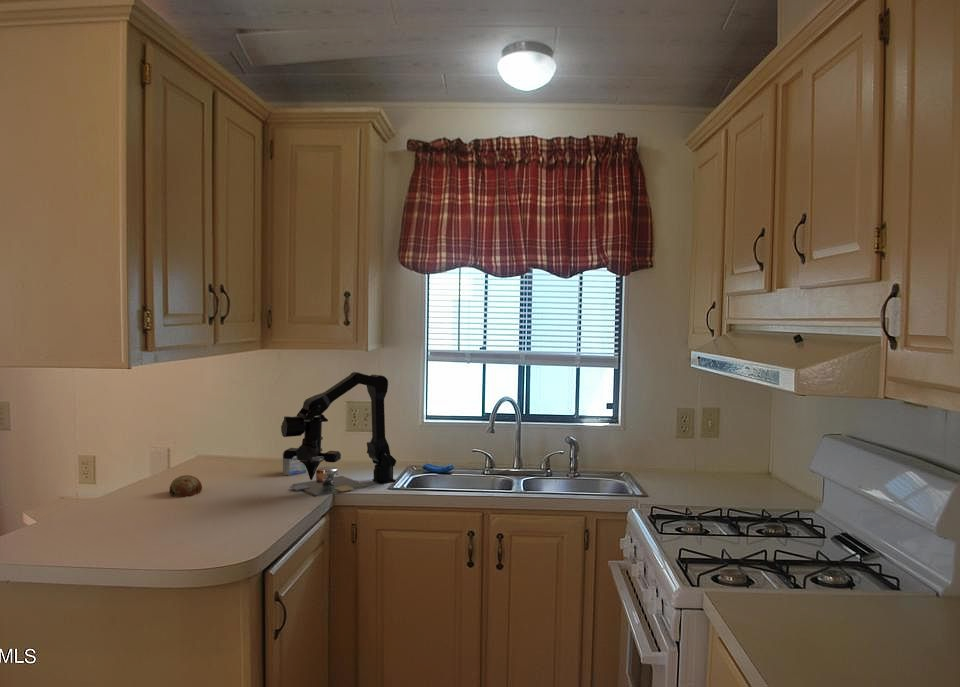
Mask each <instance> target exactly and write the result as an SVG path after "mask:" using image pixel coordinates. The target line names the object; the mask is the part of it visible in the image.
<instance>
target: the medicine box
mask: <svg viewBox="0 0 960 687" xmlns="http://www.w3.org/2000/svg"><path fill="white" fill-rule="evenodd" d="M305 473H307V469H306V466H305V465H304V464H303V463H302V462H300V460H297V456H294V457H293V458H292V459H284V458H283V457H282V474H283V475H284V476H289V477H292V476H296V475H297V476H298V475H299V474H300V475H301V474H305Z"/></svg>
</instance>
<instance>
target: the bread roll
mask: <svg viewBox="0 0 960 687" xmlns="http://www.w3.org/2000/svg"><path fill="white" fill-rule="evenodd" d="M202 489H203V485H202V482H201V481H200V480H199V479H198V477H195V476H193V475H188V474H187V475H186V474H185V475H180V476H178V477H175V479H173V480H172V482H171V483H170V485H169V489H168V490H169V496H170V497H175V496H177V497H179V498H187V497H186V496H188V497H193V496H195V494H196V495H198V493H199V494H200V493H201V492H202ZM177 497H176V498H177Z"/></svg>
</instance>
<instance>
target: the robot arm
mask: <svg viewBox="0 0 960 687" xmlns="http://www.w3.org/2000/svg"><path fill="white" fill-rule="evenodd" d="M357 385H362V386H366V390H367V392H368V395H369V398H370V401H371V402H370V406H371V408H370V409H371V435H372V436H371V440H370V441H369V442H366V447H367V449H366V454H368V457H369V458H370V459H371V460H372V463H373V464H374V469H373V478H372V480H371V481H372V482H375V483H377V484H381V485H383V484H387V483H392V482H393V483H394V482H396V479H394V467H395V466H396V464H397V459H396V458H394V457H393V455H391V450H390V445H389V443H388V441H387V437H386V426H385V425H386V423H385V422H386V419H385V417H386V415H385V398H386V395H387V393H388V388H389V380H388V378H387V377H386V376H385V375H381V374H370V375H369V374H364V373H362V372H358V371H353V372H351V373H350V374H349V375H348V376H346V377H345V378H343V379H341V380H340V381H338V382H337V383H336V384H334V385H333V386H331V387H330V388H328V389H327V390H325V391H323V392H322V393H318V394H316V395H312V396H310V397H308V398H306V399H305V400H304V401H303V405H302V407H301V408H300V410H299V411H298V413H297V414H296V416H288V415H287V416H283V421H282V423H281V426H280V430H281V431H280V432H281V435H282V437H283V438H287V437H289V438H290V437H301V436H302V435H303V434H304V436H303V438H302V440H301V445H299V446H298V447H290V448H287V449H285V450H284V451H283V452H282V459H283V458H284V459H292V458H293V457H294V456H297V460H300V462H302V463H303V464H304V465H305V466H306V472H307V474H308V476H309V481H313V478H314V476H315V474H316V470H318V468H319V466H320V464H321V462H326V463H336V462H339V461H340V460H341V457H342V454H341V452H340V451H339V450H338V451H337V450H329V451H327V452H323V447H322V441H323V439H324V438H323V436H322V432H323V431H322V430H323V425H322V424H323V423H325V422H329V419H328V418H327V417H325V415H324V414H323V413H325V412H326V411H327V410H328V409H329V407H330V406H331V405H332V403H334V401H335V400H337V399H339V398H340V397H342V396H344V394H346V393H348V392H349V391H351V390H352V389H354V388H355V387H356V386H357Z"/></svg>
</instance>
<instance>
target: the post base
mask: <svg viewBox="0 0 960 687" xmlns="http://www.w3.org/2000/svg"><path fill="white" fill-rule="evenodd" d="M289 488H291V489H292V490H295V491H300V490H301V491H302V492H304V493H307V494H309V495H312V496H313V497H315V498H317V497H321V496H323V497H324V496H327V495H332V494H338V493H342V492H347V491H353V490H357V489H359V490H360V489H363V488H368V484H365V483H363V482H359V481H357V480H354V479H352V478H349V477H346V476H343V475H337V476H329V477H327V478H326V479H325V482H324V483H317V482H316V480H315V479H314V480H309V481H303V482H299V483H293V484H291V485H290V486H289Z"/></svg>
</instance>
